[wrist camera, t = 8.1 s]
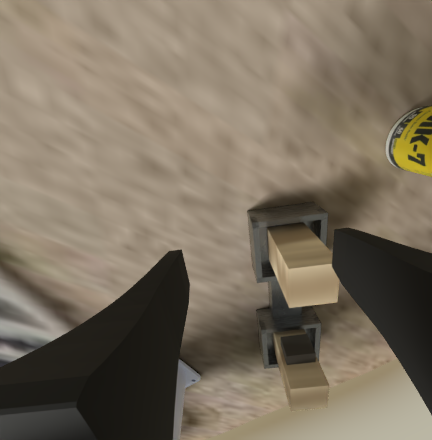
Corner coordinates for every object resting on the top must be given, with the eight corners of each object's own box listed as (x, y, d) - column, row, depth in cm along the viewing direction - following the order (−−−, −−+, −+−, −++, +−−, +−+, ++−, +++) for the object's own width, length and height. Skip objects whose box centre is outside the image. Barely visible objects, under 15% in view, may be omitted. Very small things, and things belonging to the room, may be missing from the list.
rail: (308, 340, 27) (318, 362, 25) (259, 346, 27) (264, 368, 25) (313, 201, 20) (328, 212, 17) (247, 210, 20) (252, 223, 18)
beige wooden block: (266, 227, 19) (288, 268, 14) (304, 222, 19) (341, 262, 14) (269, 269, 21) (289, 320, 15) (303, 265, 21) (336, 315, 15)
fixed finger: (302, 345, 25) (327, 407, 20) (273, 348, 25) (290, 411, 20) (302, 317, 23) (330, 376, 18) (272, 320, 24) (290, 380, 18)
